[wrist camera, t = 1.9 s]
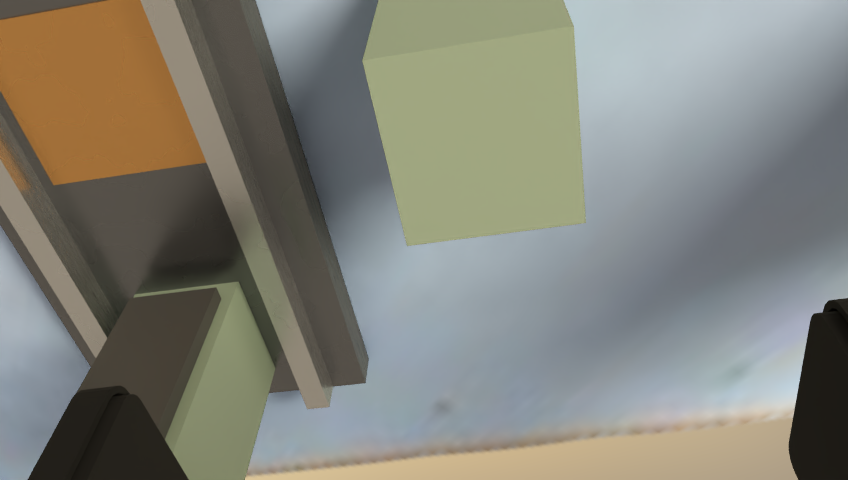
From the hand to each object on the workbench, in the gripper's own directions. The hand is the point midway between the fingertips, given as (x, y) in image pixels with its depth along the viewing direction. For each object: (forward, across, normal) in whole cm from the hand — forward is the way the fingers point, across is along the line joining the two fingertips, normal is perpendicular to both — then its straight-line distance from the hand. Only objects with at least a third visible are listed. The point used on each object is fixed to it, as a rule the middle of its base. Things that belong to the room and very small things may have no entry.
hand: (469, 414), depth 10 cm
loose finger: (+17, -1, 0) cm, 17 cm away
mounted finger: (+15, +12, +11) cm, 23 cm away
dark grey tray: (+17, +12, +5) cm, 22 cm away
